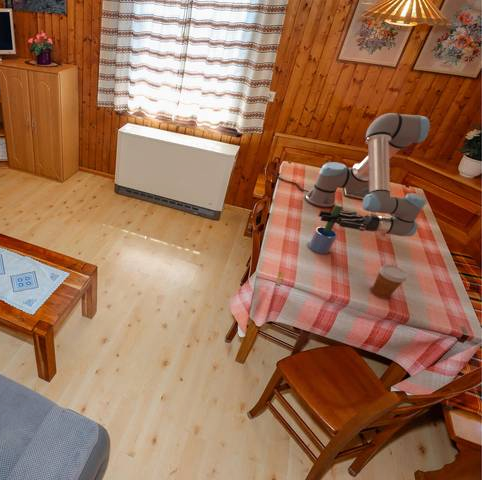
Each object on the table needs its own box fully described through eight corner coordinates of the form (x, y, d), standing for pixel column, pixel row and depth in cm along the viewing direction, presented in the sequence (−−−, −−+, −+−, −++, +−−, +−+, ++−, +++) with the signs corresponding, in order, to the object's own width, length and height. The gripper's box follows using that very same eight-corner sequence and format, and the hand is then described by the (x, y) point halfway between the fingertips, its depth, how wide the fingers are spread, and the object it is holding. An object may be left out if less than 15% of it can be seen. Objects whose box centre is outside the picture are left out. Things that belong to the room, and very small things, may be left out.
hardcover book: (387, 205, 222) (389, 201, 220) (344, 196, 229) (346, 192, 227) (383, 193, 234) (385, 190, 232) (342, 185, 241) (344, 182, 240)
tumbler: (305, 247, 182) (313, 231, 176) (313, 240, 187) (320, 224, 182) (324, 256, 177) (332, 239, 171) (331, 248, 182) (340, 232, 176)
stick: (322, 230, 176) (334, 205, 168) (325, 228, 178) (337, 202, 170) (329, 233, 174) (341, 207, 166) (331, 231, 176) (344, 205, 168)
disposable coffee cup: (389, 288, 160) (404, 267, 153) (396, 303, 152) (411, 281, 145) (365, 283, 162) (378, 261, 155) (370, 297, 154) (384, 275, 148)
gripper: (378, 240, 165) (322, 231, 168) (365, 221, 178) (313, 214, 181) (386, 226, 160) (328, 217, 164) (373, 207, 173) (319, 200, 177)
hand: (320, 215), depth 172 cm, fingers closed on stick, 3 cm apart
